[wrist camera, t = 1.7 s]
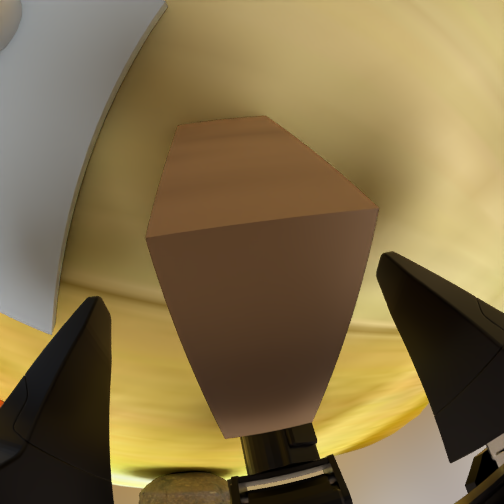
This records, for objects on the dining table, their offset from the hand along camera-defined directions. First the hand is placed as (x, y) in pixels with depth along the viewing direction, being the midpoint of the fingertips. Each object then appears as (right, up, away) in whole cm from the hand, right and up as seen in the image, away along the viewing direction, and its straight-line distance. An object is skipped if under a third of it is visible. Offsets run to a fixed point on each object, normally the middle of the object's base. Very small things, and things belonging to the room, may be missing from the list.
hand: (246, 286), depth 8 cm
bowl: (-13, -41, +33) cm, 54 cm away
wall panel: (-11, +5, -1) cm, 12 cm away
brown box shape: (-1, +2, +3) cm, 4 cm away
